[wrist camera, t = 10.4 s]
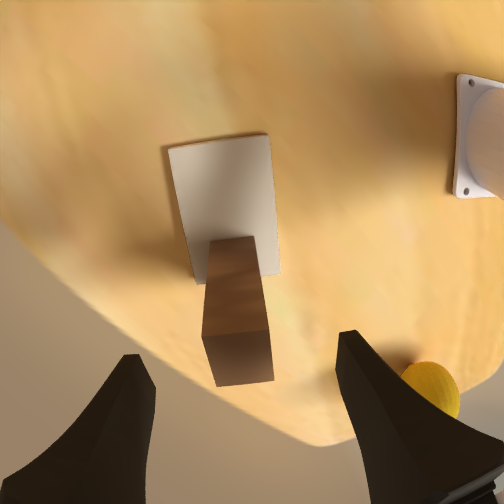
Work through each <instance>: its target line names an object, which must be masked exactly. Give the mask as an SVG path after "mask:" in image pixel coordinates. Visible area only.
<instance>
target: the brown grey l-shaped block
mask: <svg viewBox="0 0 504 504" xmlns="http://www.w3.org/2000/svg"><path fill="white" fill-rule="evenodd" d="M168 154H169V159H170V164H171V170H172V175H173V180H174V185H175V190H176V195H177V200H178V205H179V210H180V215H181V219H182V224H183V229H184V233H185V238H186V242H187V247H188V251H189V256H190V260H191V264H192V268H193V273H194V277H195V281H196V285H198V284H206V288H205V300H204V311H203V323H202V336H201V337H202V340H203V344H204V347H205V350H206V354H207V357H208V360H209V364H210V367H211V370H212V373H213V377H214V380H215V383H216V386H217V387H221V386H232V385H242V384H251V383H260V382H268V381H274V371H273V362H272V352H271V342H270V332H269V325H268V319H267V312H266V306H265V300H264V294H263V288H262V281H261V277H264V276H271V275H279V274H281V267H280V253H279V240H278V228H277V216H276V204H275V192H274V181H273V170H272V160H271V149H270V139H269V135H268V134H261V135H252V136H244V137H236V138H228V139H221V140H214V141H207V142H200V143H194V144H188V145H182V146H176V147H171V148H169V149H168Z"/></svg>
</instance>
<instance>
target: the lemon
mask: <svg viewBox="0 0 504 504" xmlns="http://www.w3.org/2000/svg"><path fill="white" fill-rule="evenodd" d="M400 377H401V378H402V379H403V380H404V381H405V382H406V383H408V384H409V385H410V386H411V387H412V388H413V389H414V390H416V391H417V392H418V393H419V394H420V395H422V396H423V397H424V398H426V399H427V400H428V401H429V402H431V403H432V404H434V405H435V406H436V407H438V408H439V409H441V410H442V411H444V412H445V413H447V414H448V415H450V416H452V417H453V418H455V419H456V418H457V415H458V413H459V409H460V396H459V391H458V388H457V385H456V383H455V381H454V379H453V378H452V376H451V374H450V373H449V372H448V371H447V370H446V369H445V368H444V367H442V366H441V365H439V364H437V363H434V362H419V363H416V364H410V365H408V367H407V369H406V370H405V371H404V372H403V373H402V375H401V376H400Z"/></svg>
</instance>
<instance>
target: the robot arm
mask: <svg viewBox="0 0 504 504" xmlns="http://www.w3.org/2000/svg"><path fill="white" fill-rule="evenodd" d="M469 80H470V82H471V85H469ZM465 188H466V190H465V192H464V189H465ZM452 193H453V195H454V196H455V197H456V198H458V199H464V198H479V197H496V196H497V197H499V198H501V199H502V200H504V83H502V82H498V81H494V80H490V79H486V78H482V77H477V76H473V75H468V74H459V75H458V76H457V137H456V156H455V169H454V180H453V189H452ZM335 370H336V374H337V379H338V383H339V387H340V392H341V395H342V398H343V401H344V403H345V406H346V409H347V412H348V415H349V417H350V420H351V423H352V426H353V428H354V431H355V434H356V437H357V440H358V443H359V446H360V449H361V453H362V457H363V462H364V467H365V472H366V477H367V482H368V487H369V494H370V500H371V504H504V490H503V491H501V492H499V493H498V494H497V495H494V493H493V490H494V489H495V488H496V485H495V483H494V479H496V478H497V477H498V476H499V475H501V474H502V473H503V472H504V442H503V441H501V440H499V439H496V438H494V437H491V436H489V435H486V434H484V433H482V432H479V431H477V430H475V429H473V428H471V427H469V426H467V425H465V424H464V423H462V422H460V421H458V420H457V419H455V418H453V417H452V416H450V415H448V414H447V413H445V412H444V411H442V410H441V409H439V408H438V407H436V406H435V405H434V404H432V403H431V402H429V401H428V400H427V399H426V398H424V397H423V396H422V395H420V394H419V393H418V392H417V391H416V390H414V389H413V388H412V387H411V386H410V385H409V384H408V383H406V382H405V381H404V380H403V379H402V378H401V377H400V376H399V375H398V374H397V373H396V372H395V371H394V370H393V369H392V368H391V367H390V366H389V365H388V364H387V363H386V362H385V361H384V360H383V359H382V358H381V357H380V356H379V355H378V354H377V353H376V352H375V350H374V349H373V348H372V347H371V346H370V345H369V344H368V343H367V342H366V340H365V339H364V338H363V337H362V336H361V335H360V333H359V332H358V331H357V330H351V331H346V332H340V333H339V340H338V350H337V359H336V368H335ZM155 397H156V387H155V385H154V383H153V381H152V380H151V378H150V376H149V374H148V372H147V370H146V368H145V366H144V364H143V362H142V359H141V357H140V355H139V354H130V355H124V356H123V357H122V358H121V360H120V361H119V362H118V364H117V365H116V367H115V368H114V370H113V371H112V372H111V374H110V375H109V377H108V379H107V380H106V381H105V382H104V384H103V385H102V387H101V388H100V390H99V391H98V392H97V394H96V395H95V396H94V398H93V399H92V401H91V402H90V403H89V404H88V406H87V407H86V408H85V409H84V411H83V412H82V413H81V414H80V416H79V417H78V418H77V419H76V421H75V422H74V423H73V424H72V425H71V426H70V427H69V428H68V429H67V430H66V432H65V433H64V434H63V435H62V436H61V437H60V438H59V439H58V440H57V441H55V442H54V443H53V444H52V445H51V446H50V447H49V448H48V449H47V450H45V452H43V453H42V454H41V455H39V456H38V457H37V458H36V459H34V460H33V461H32V462H30V463H29V464H28V465H26V466H25V467H23V468H22V469H20V470H19V471H17V472H15V473H14V474H12V475H10V476H9V477H7V478H5V479H4V480H3V483H2V487H1V490H0V504H146V501H145V500H146V499H145V477H146V462H147V455H148V449H149V443H150V437H151V431H152V425H153V419H154V413H155Z"/></svg>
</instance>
